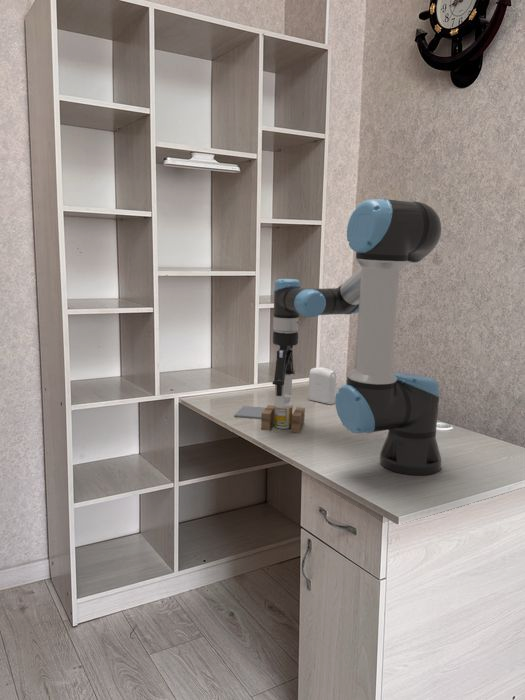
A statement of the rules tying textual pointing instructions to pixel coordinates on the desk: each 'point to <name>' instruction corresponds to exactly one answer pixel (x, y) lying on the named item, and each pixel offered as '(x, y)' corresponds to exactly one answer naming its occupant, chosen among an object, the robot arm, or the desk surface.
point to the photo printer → (322, 385)
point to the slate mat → (250, 412)
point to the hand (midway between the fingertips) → (283, 400)
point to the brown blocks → (269, 418)
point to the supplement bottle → (284, 414)
